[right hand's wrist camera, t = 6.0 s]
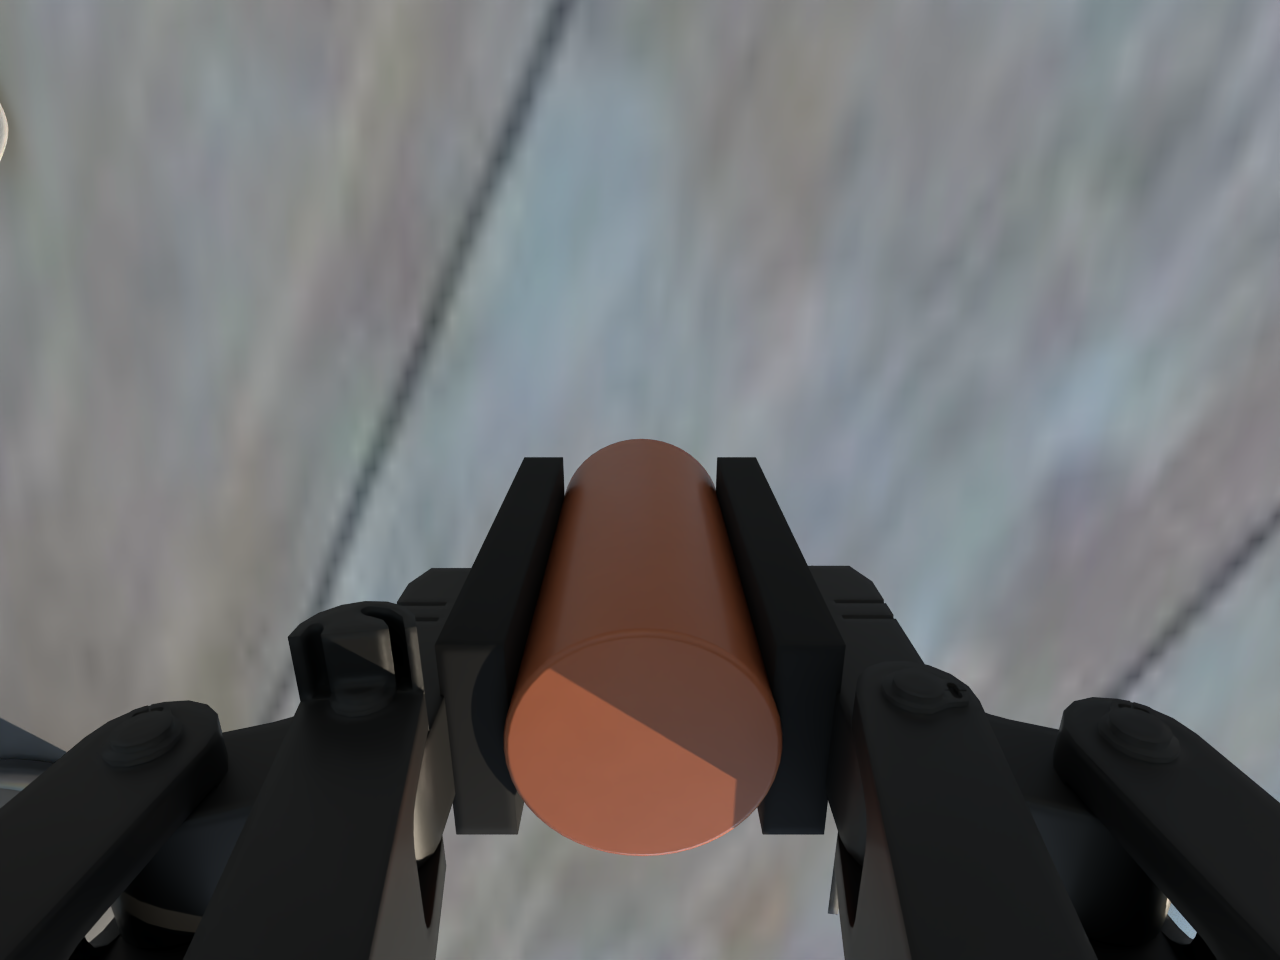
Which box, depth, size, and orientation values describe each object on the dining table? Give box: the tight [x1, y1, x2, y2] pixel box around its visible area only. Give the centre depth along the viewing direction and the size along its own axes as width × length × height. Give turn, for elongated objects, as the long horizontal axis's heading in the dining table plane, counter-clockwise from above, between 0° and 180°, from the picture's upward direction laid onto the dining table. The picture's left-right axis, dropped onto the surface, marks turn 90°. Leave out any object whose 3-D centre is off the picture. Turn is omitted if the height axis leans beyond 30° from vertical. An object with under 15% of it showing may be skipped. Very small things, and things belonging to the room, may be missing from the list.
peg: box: [504, 439, 783, 856], centre depth 11 cm, size 3×3×7 cm
